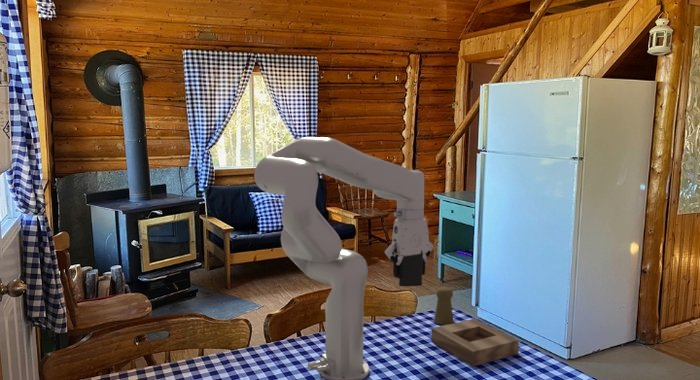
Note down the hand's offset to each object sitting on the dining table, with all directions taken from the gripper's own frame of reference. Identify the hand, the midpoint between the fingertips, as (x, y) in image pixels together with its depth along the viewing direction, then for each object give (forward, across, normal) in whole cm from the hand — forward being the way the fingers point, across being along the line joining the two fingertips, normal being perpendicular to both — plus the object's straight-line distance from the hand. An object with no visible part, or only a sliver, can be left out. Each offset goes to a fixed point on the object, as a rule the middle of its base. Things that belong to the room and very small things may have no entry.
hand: (409, 275), depth 153 cm
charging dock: (+20, +14, -12) cm, 27 cm away
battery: (+3, 0, 0) cm, 3 cm away
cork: (+20, +19, +8) cm, 29 cm away
